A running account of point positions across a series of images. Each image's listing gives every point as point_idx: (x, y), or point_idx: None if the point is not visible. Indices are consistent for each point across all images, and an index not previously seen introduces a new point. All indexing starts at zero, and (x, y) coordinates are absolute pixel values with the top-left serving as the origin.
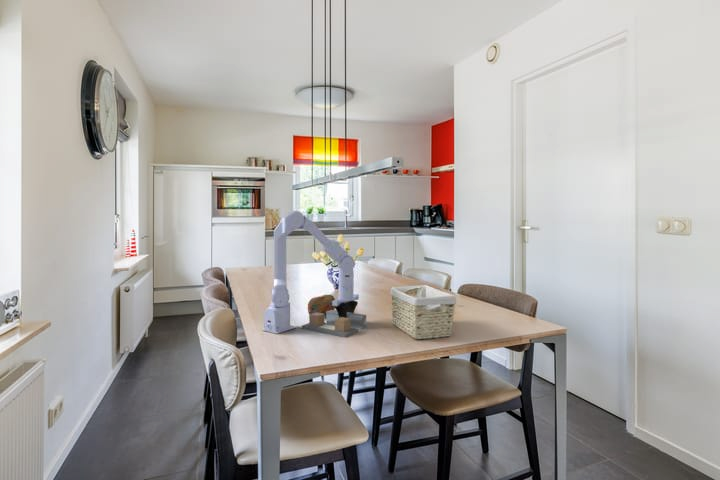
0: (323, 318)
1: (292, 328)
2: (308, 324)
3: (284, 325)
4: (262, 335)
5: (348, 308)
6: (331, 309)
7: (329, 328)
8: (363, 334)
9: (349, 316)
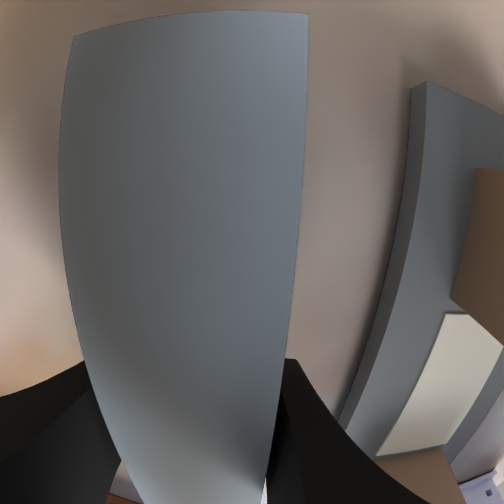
0: None
1: None
2: None
3: (469, 501)
4: (500, 476)
5: (84, 487)
6: None
7: (486, 367)
8: (445, 21)
9: (279, 362)
